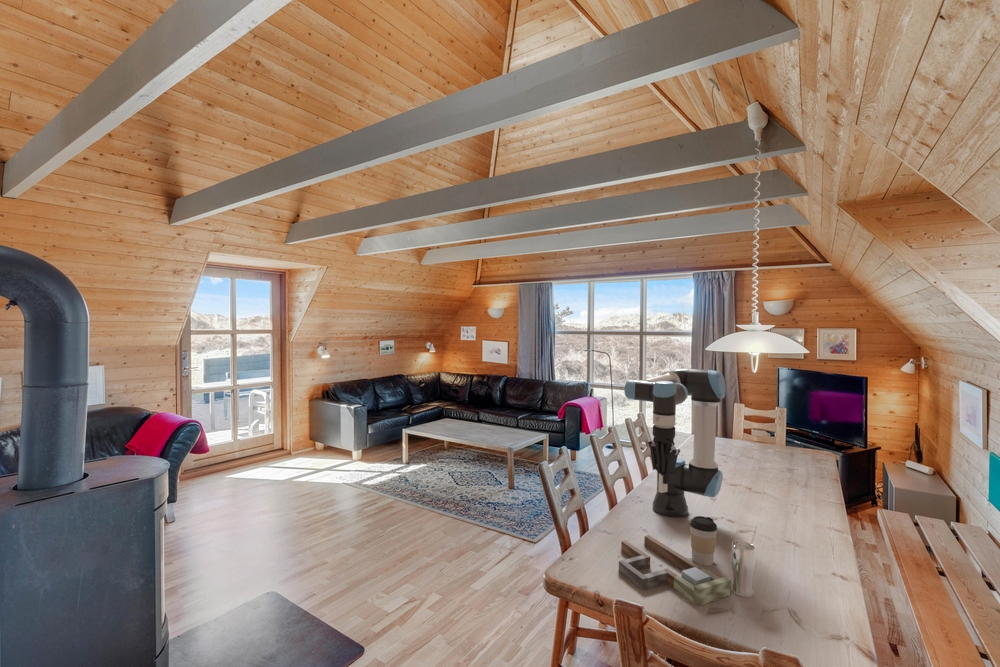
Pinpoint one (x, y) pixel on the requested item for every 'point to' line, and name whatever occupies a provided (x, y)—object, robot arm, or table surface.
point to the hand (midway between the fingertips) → (662, 491)
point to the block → (695, 576)
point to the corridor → (670, 573)
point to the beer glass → (742, 567)
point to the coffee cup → (703, 539)
